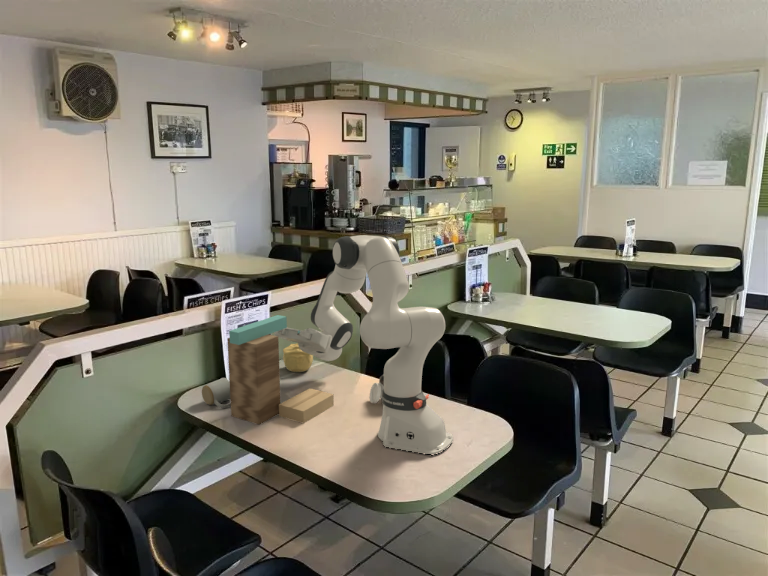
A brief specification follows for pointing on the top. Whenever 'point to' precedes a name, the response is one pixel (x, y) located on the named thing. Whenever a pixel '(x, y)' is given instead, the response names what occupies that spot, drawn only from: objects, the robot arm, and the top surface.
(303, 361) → the sculpture
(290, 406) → the kraft parcel
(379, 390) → the spread jar
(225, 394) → the ceramic mug
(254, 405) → the walnut stand
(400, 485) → the top surface
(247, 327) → the teal carton
